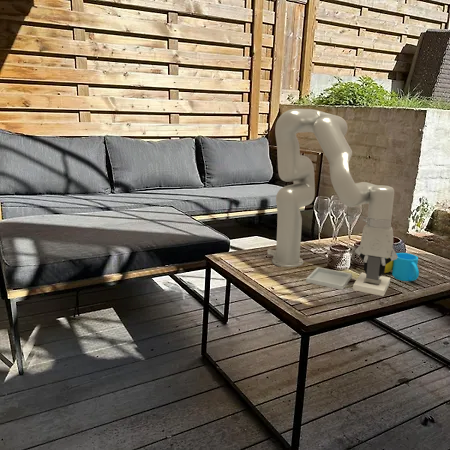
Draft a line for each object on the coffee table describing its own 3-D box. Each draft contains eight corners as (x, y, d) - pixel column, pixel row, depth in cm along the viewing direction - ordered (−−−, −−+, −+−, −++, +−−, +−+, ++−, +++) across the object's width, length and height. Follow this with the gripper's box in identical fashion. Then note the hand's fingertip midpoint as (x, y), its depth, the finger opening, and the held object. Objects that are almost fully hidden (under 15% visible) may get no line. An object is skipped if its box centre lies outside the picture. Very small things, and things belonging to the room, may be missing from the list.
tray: (305, 283, 149) (306, 278, 149) (317, 271, 160) (317, 267, 160) (342, 291, 143) (342, 286, 143) (351, 278, 154) (352, 273, 154)
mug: (387, 273, 160) (389, 253, 157) (407, 272, 161) (409, 252, 159) (405, 286, 148) (408, 264, 146) (426, 284, 150) (429, 263, 147)
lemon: (393, 277, 156) (395, 256, 154) (377, 275, 157) (379, 255, 155) (390, 271, 161) (393, 252, 159) (375, 270, 162) (377, 251, 160)
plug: (366, 278, 144) (368, 256, 142) (369, 273, 148) (371, 251, 146) (378, 280, 142) (380, 258, 140) (380, 275, 146) (383, 253, 144)
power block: (352, 291, 143) (353, 283, 143) (361, 278, 154) (361, 271, 153) (383, 297, 139) (384, 289, 138) (389, 284, 150) (390, 276, 149)
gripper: (351, 221, 141) (346, 272, 146) (404, 228, 133) (397, 282, 138) (356, 217, 147) (351, 266, 152) (407, 223, 139) (401, 274, 144)
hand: (373, 273), depth 145 cm, fingers closed on plug, 4 cm apart
